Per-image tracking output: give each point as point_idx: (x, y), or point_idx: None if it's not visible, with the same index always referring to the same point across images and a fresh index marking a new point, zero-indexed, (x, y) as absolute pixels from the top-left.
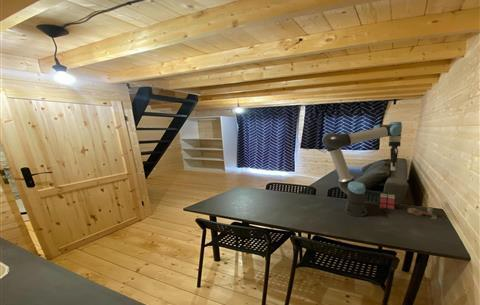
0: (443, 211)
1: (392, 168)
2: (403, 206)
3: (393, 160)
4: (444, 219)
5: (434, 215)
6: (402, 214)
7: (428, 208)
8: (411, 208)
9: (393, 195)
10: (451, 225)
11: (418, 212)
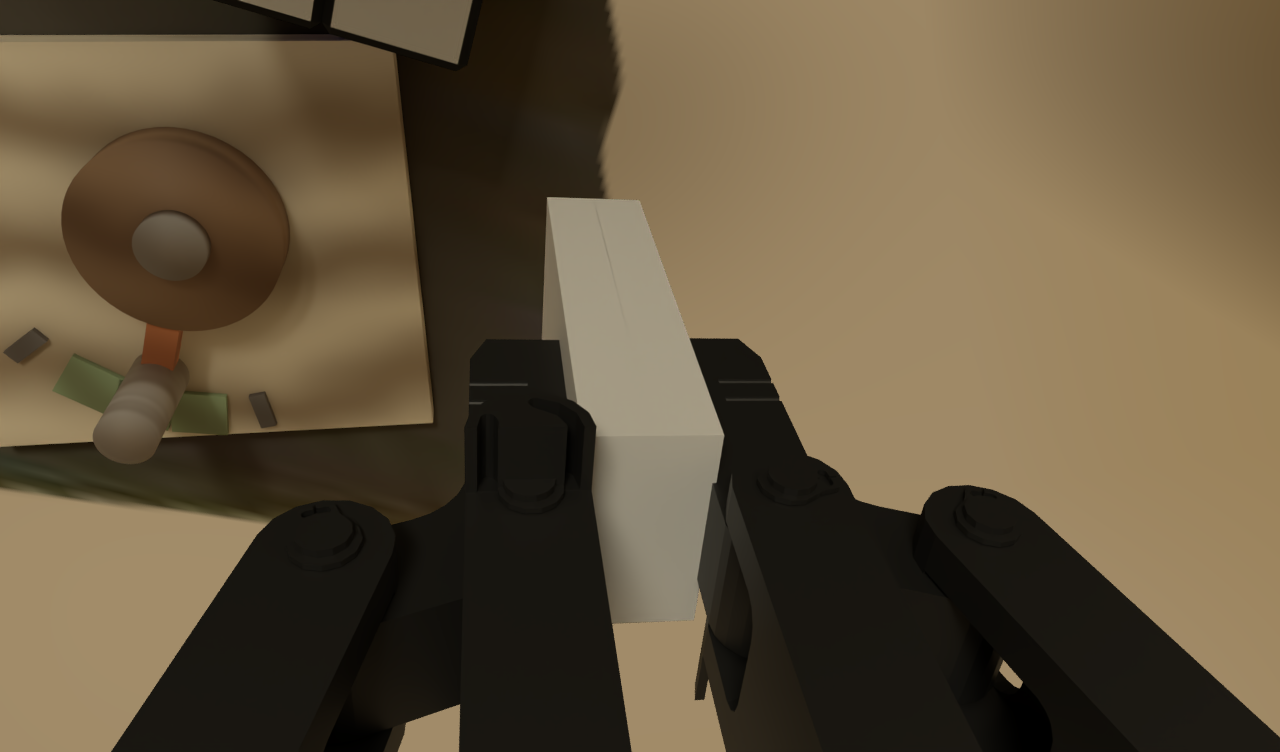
0: None
1: (552, 286)
2: (525, 161)
3: (197, 647)
4: (197, 479)
5: (205, 421)
6: (122, 34)
7: (109, 411)
8: (249, 216)
9: (428, 28)
10: (23, 485)
11: (96, 259)
